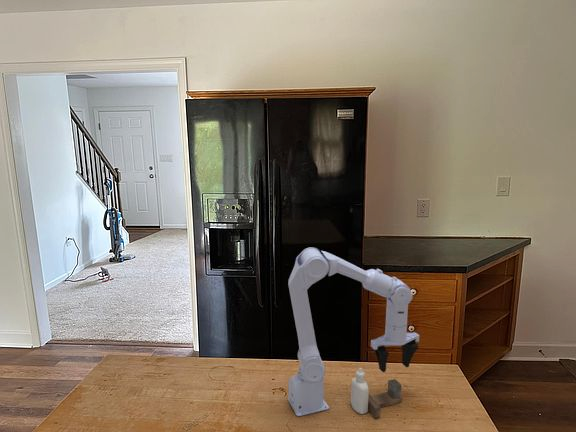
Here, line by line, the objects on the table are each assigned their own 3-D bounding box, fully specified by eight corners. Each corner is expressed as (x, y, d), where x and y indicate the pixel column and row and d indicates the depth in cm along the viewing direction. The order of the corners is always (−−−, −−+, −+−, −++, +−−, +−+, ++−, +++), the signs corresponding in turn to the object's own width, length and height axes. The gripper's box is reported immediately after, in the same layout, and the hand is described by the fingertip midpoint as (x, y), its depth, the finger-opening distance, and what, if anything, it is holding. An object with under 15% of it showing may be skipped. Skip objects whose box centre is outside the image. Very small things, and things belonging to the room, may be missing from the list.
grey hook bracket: (375, 418, 102) (376, 401, 101) (355, 394, 112) (355, 378, 111) (409, 409, 105) (410, 393, 105) (386, 386, 116) (387, 371, 115)
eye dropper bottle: (366, 402, 109) (367, 362, 107) (368, 415, 104) (369, 374, 102) (350, 401, 109) (351, 362, 107) (351, 414, 104) (353, 373, 102)
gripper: (409, 313, 113) (407, 356, 115) (365, 320, 108) (364, 365, 111) (425, 323, 106) (422, 368, 109) (379, 331, 102) (377, 378, 104)
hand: (393, 367), depth 109 cm, fingers open, 7 cm apart
